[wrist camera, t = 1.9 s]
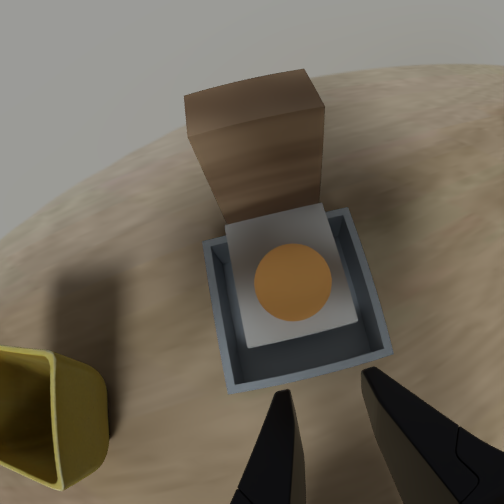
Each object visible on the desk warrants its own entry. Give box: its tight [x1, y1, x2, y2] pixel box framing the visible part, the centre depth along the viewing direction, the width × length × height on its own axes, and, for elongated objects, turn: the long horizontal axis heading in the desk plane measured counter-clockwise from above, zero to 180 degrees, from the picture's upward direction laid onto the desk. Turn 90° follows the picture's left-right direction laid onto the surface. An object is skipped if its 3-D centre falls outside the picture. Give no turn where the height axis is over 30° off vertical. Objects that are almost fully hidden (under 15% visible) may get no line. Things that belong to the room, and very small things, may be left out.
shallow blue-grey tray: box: [202, 207, 394, 394], centre depth 21 cm, size 10×10×4 cm
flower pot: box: [0, 345, 109, 491], centre depth 18 cm, size 9×9×9 cm
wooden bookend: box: [184, 69, 358, 348], centre depth 18 cm, size 11×6×13 cm, turn 11°
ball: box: [254, 244, 332, 321], centre depth 17 cm, size 4×4×4 cm
